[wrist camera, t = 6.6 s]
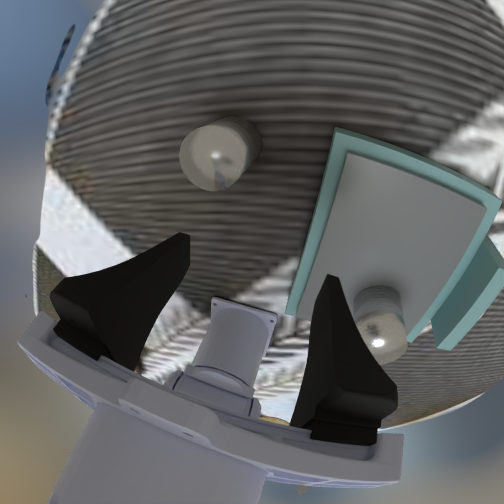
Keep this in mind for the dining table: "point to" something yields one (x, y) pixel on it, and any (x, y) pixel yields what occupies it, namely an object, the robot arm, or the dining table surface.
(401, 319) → the cylinder
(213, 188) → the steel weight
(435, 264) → the pan
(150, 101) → the dining table surface
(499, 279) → the scale
